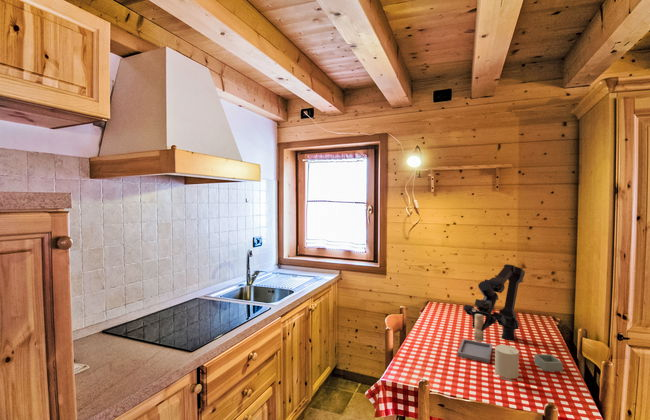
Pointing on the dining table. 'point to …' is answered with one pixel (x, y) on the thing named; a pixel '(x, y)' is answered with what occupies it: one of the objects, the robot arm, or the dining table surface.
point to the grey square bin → (548, 362)
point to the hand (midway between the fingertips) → (477, 329)
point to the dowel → (479, 327)
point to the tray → (475, 350)
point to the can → (506, 362)
